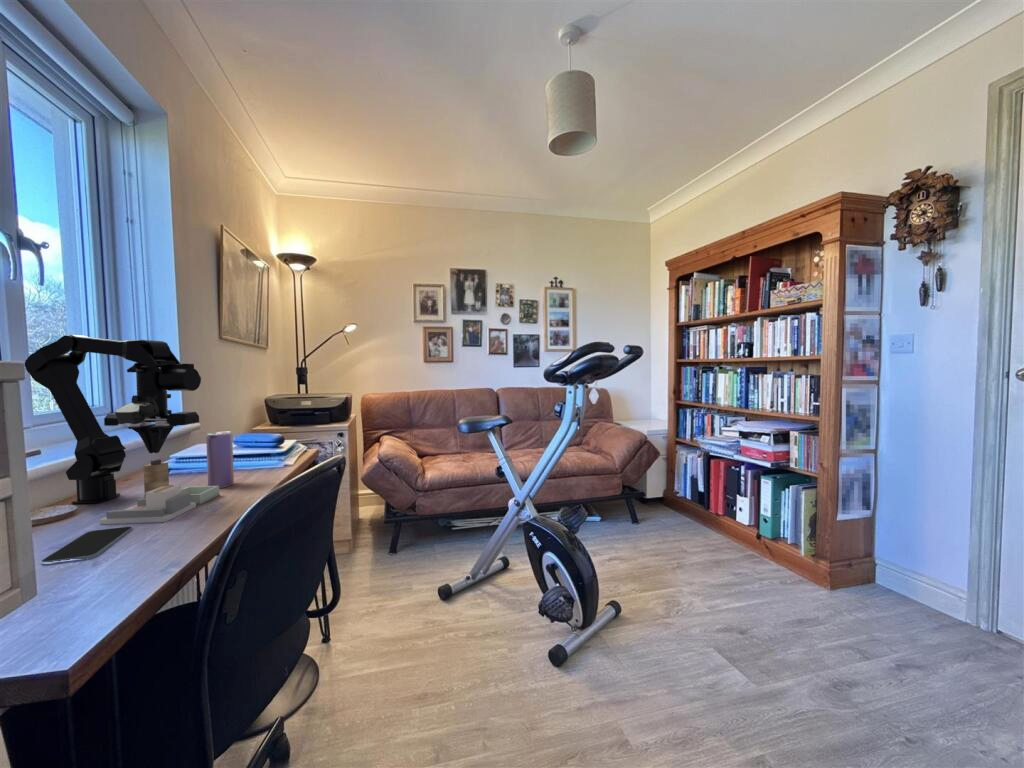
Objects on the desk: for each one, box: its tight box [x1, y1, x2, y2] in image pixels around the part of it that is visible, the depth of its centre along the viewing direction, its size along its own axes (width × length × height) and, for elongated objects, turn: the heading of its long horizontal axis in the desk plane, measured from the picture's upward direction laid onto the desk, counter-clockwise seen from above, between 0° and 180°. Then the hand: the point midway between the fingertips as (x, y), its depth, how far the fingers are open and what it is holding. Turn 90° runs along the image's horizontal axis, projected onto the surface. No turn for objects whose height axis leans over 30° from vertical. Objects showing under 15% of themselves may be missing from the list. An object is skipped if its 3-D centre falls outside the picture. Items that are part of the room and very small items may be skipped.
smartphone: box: [41, 525, 133, 562], centre depth 79 cm, size 7×1×15 cm
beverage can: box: [205, 430, 235, 489], centre depth 117 cm, size 6×6×15 cm
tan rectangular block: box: [143, 458, 170, 498], centre depth 105 cm, size 3×3×10 cm
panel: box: [99, 492, 197, 525], centre depth 94 cm, size 13×10×4 cm
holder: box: [181, 485, 220, 506], centre depth 105 cm, size 8×8×2 cm
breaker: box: [146, 484, 182, 512], centre depth 94 cm, size 4×5×5 cm
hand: (154, 452), depth 105 cm, fingers closed
